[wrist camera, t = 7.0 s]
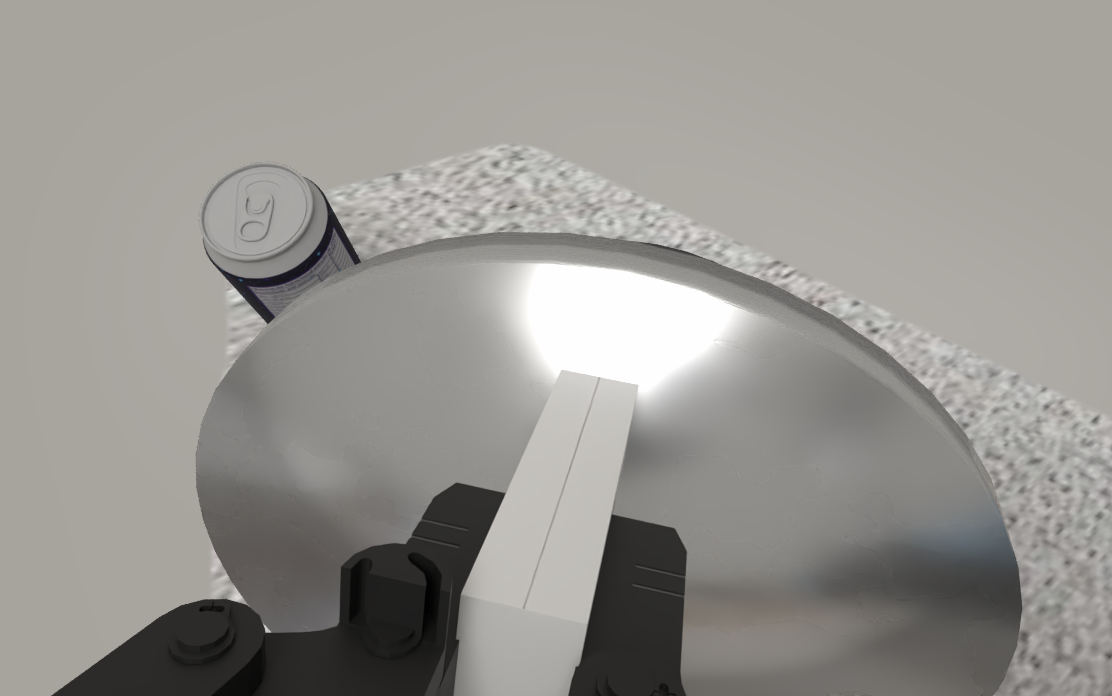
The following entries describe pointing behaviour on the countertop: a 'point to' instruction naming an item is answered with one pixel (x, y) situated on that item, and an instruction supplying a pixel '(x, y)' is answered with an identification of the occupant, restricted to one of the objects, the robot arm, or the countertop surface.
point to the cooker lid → (650, 460)
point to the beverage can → (272, 235)
